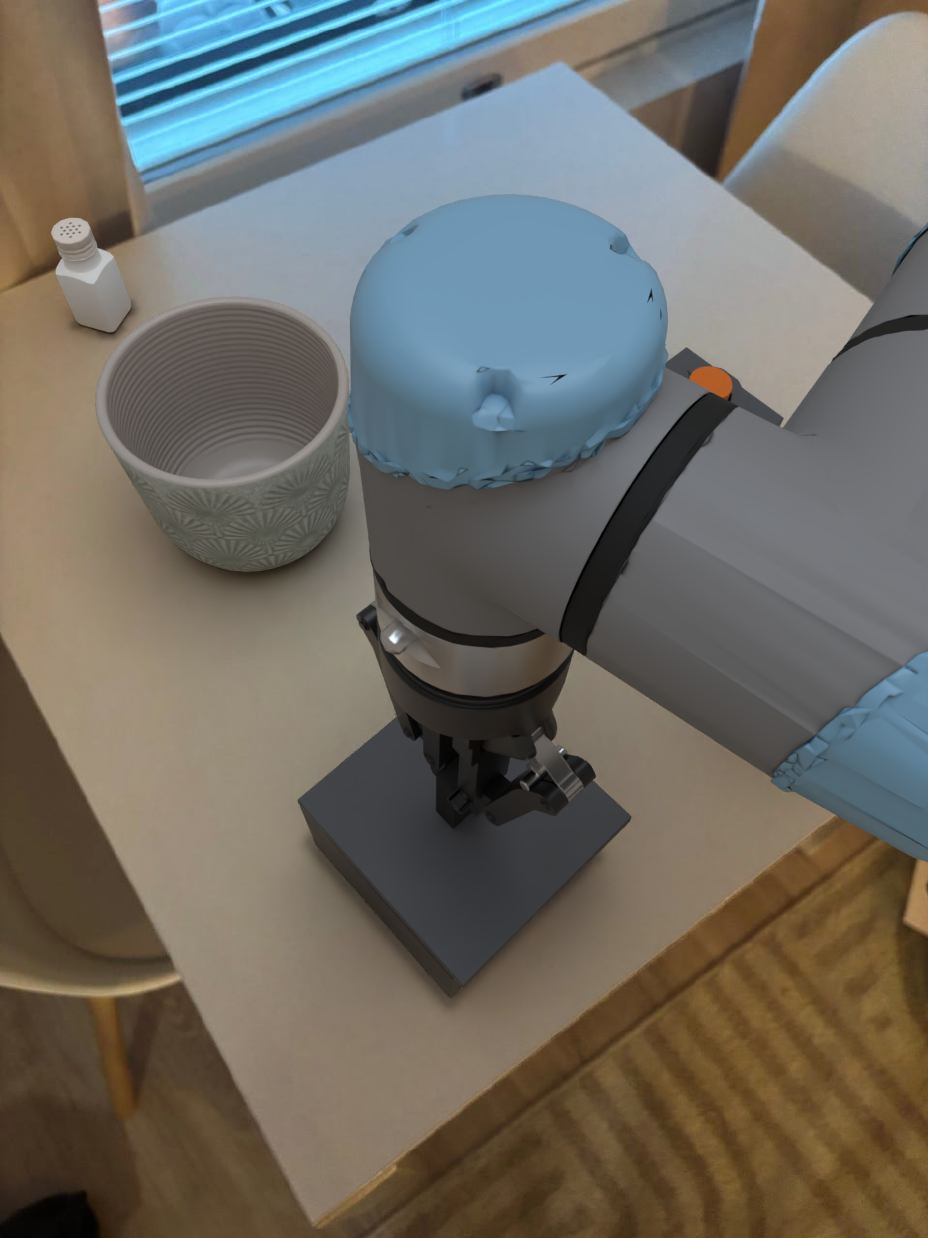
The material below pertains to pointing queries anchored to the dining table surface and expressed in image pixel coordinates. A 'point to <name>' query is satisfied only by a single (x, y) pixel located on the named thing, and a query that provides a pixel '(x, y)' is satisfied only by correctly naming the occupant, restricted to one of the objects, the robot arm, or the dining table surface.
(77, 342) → the dining table surface
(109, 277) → the pepper shaker
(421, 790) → the dark grey square slab
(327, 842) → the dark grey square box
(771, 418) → the control block
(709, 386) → the button
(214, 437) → the planter
